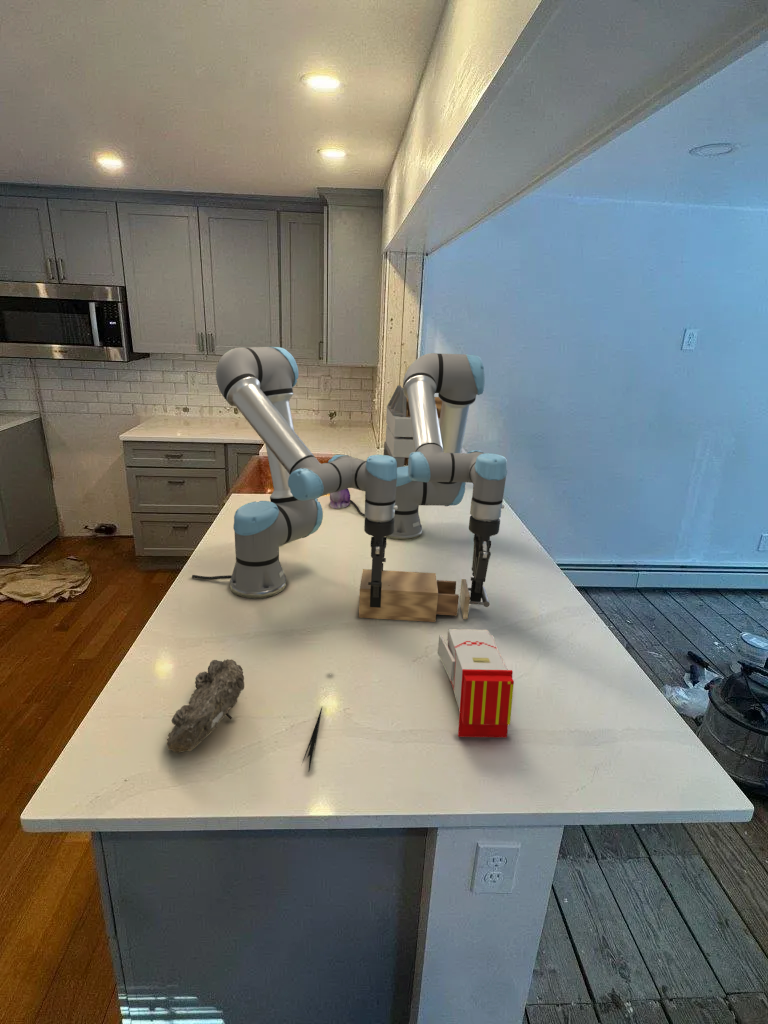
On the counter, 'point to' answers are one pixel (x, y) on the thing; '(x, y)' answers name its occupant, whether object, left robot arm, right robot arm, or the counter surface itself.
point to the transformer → (401, 427)
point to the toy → (478, 682)
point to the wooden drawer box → (401, 596)
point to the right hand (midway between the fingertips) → (475, 601)
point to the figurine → (340, 499)
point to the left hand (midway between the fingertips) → (376, 595)
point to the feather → (313, 740)
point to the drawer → (456, 598)
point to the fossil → (206, 705)
